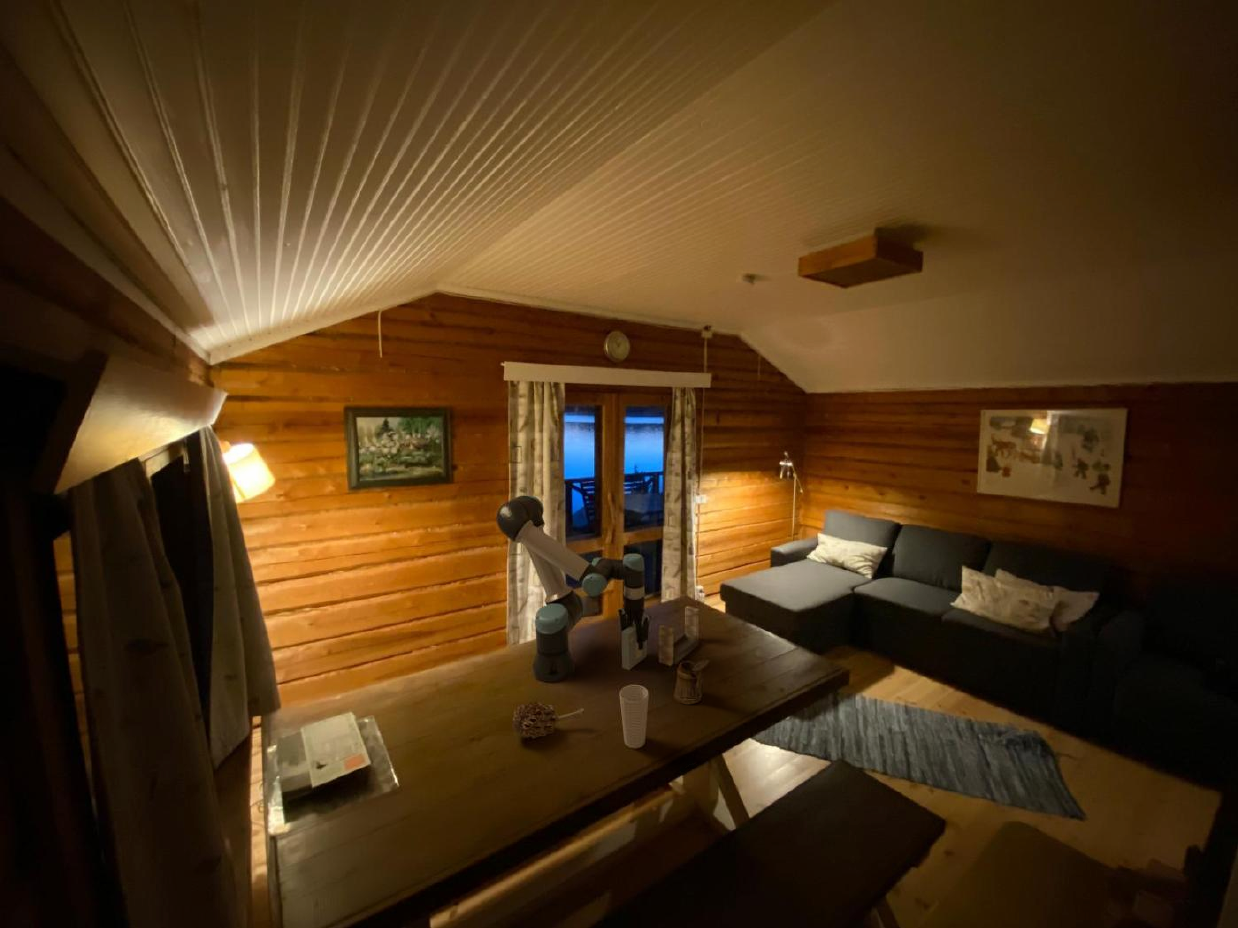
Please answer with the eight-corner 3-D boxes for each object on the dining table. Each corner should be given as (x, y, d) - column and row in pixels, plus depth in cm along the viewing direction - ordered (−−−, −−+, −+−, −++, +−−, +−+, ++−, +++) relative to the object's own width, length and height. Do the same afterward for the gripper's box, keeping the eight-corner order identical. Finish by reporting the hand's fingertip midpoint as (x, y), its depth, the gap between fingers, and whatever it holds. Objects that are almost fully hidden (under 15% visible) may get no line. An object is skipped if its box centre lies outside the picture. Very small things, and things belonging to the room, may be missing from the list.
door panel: (621, 667, 188) (621, 631, 186) (640, 653, 198) (639, 619, 196) (629, 670, 186) (628, 634, 184) (647, 656, 196) (646, 621, 194)
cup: (614, 741, 149) (613, 692, 147) (634, 727, 155) (633, 680, 153) (635, 756, 143) (634, 705, 141) (655, 741, 149) (655, 692, 147)
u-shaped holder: (656, 660, 192) (655, 626, 190) (684, 637, 210) (684, 605, 208) (673, 667, 188) (673, 631, 186) (701, 642, 205) (701, 609, 203)
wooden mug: (694, 715, 160) (694, 662, 157) (668, 693, 172) (668, 643, 169) (715, 706, 165) (716, 654, 162) (689, 685, 176) (690, 637, 173)
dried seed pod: (515, 751, 146) (513, 719, 144) (510, 730, 155) (509, 700, 153) (589, 733, 153) (588, 702, 151) (581, 714, 162) (580, 685, 160)
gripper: (610, 594, 190) (611, 653, 193) (646, 604, 180) (647, 666, 184) (622, 587, 196) (623, 644, 199) (658, 597, 186) (658, 657, 190)
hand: (634, 655), depth 192 cm, fingers closed on door panel, 3 cm apart
